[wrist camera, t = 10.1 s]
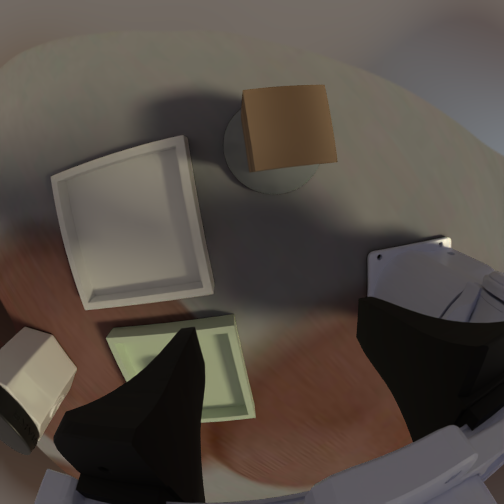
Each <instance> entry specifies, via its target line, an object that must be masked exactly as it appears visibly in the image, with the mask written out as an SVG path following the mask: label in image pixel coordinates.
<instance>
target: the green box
mask: <svg viewBox="0 0 504 504" xmlns="http://www.w3.org/2000/svg"><path fill="white" fill-rule="evenodd" d="M188 327H195V329H196V332H197V336H198V340H199V344H200V347H201V351H202V355H203V358H204V362H205V391H204V400H203V408H202V417H201V422H217V421H229V420H239V419H248V418H256V417H255V405H254V401H253V397H252V393H251V388H250V384H249V380H248V375H247V371H246V367H245V362H244V358H243V353H242V349H241V344H240V340H239V335H238V330H237V326H236V321H235V316H234V314H231V315H224V316H217V317H210V318H202V319H194V320H186V321H178V322H169V323H160V324H150V325H140V326H128V327H116V328H113V329H112V330H111V331H110V333H109V334H108V336H107V337H106V340H107V342H108V344H109V346H110V349H111V351H112V353H113V355H114V357H115V360H116V362H117V364H118V366H119V368H120V370H121V372H122V374H123V376H124V378H125V380H126V382H128V381H129V380H130V379H132V378H133V377H134V376H136V375H137V374H138V373H139V372H140V371H142V370H143V369H144V368H145V367H146V366H147V365H148V364H149V363H150V362H151V361H152V360H153V359H154V358H155V357H156V356H157V355H158V354H159V353H160V352H161V351H162V350H163V348H164V347H165V346H166V345H167V344H168V343H169V342H170V340H171V339H172V338H173V337H174V336H175V335H176V333H177V332H178V331H179V330H180V329H181V328H188Z"/></svg>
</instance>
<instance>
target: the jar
mask: <svg viewBox="0 0 504 504" xmlns="http://www.w3.org/2000/svg"><path fill="white" fill-rule="evenodd" d="M76 370H77V368H76V366H75V365H74V364H73V362H72V361H71V360H70V358H69V357H68V356H67V354H66V353H65V352H64V350H63V349H62V347H61V346H60V345H59V343H58V342H57V340H56V339H55V337H54V336H53V335H52V334H48V333H45V332H41V331H38V330H35V329H31V328H28V327H24V328H23V329H21V330H20V331H19V332H18V333H17V334H16V335H15V336H14V337H13V338H12V339H11V340H10V341H8V342H7V343H6V344H5V345H4V346H3V347H2V348H1V349H0V440H1V441H3V442H4V443H5V444H6V445H8V446H9V447H11V448H12V449H14V450H16V451H17V452H19V453H22V454H25V455H29V454H30V453H31V452H32V450H33V449H34V448H35V446H36V445H37V442H38V441H39V440H40V438H41V436H42V435H43V433H44V431H45V429H46V428H47V426H48V424H49V422H50V421H51V419H52V417H53V416H54V414H55V413H56V411H57V409H58V408H59V406H60V404H61V402H62V401H63V399H64V398H65V396H66V394H67V393H68V391H69V390H70V388H71V385H72V382H73V379H74V376H75V373H76Z"/></svg>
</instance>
